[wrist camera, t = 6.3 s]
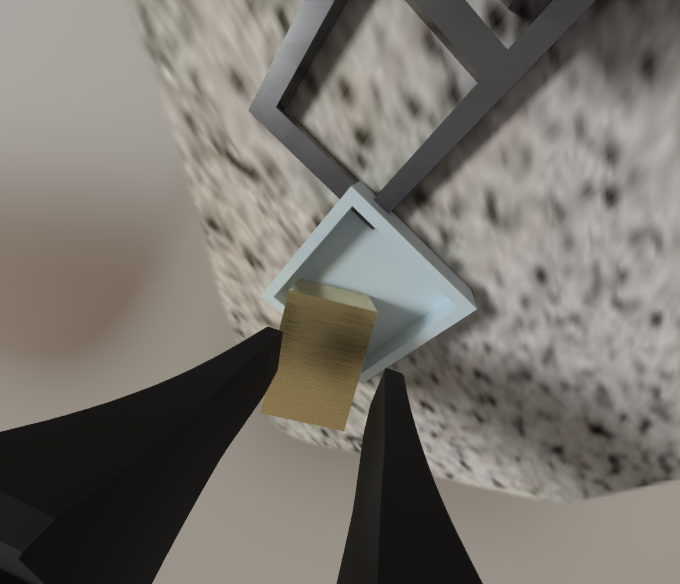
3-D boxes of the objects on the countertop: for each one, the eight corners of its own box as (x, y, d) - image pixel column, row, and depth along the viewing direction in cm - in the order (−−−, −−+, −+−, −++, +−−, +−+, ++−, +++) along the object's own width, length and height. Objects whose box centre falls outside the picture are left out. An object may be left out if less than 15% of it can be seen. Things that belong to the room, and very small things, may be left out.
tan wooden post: (377, 312, 12) (343, 431, 13) (367, 294, 16) (342, 387, 17) (288, 290, 12) (260, 412, 13) (300, 278, 16) (278, 373, 17)
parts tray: (471, 289, 15) (477, 309, 13) (368, 361, 19) (362, 383, 17) (360, 180, 14) (350, 185, 12) (276, 281, 18) (260, 295, 16)
